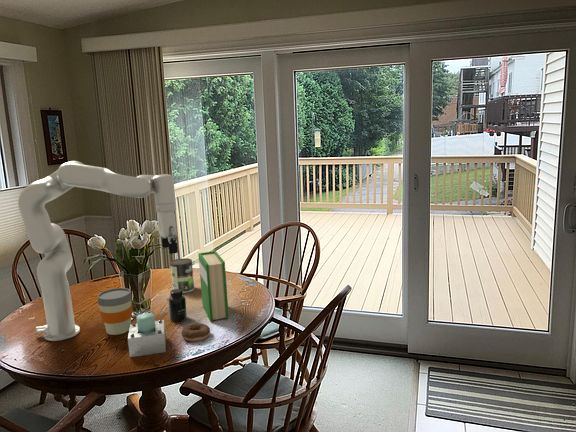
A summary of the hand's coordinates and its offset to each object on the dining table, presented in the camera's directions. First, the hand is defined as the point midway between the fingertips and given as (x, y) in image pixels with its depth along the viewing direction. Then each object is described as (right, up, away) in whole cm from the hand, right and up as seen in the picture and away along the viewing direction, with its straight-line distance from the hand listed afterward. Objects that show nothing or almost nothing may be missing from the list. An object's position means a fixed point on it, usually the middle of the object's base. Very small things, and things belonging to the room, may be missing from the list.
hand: (170, 250), depth 186 cm
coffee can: (-4, -22, +43) cm, 48 cm away
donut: (+12, -32, -7) cm, 35 cm away
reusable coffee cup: (-20, -31, +2) cm, 37 cm away
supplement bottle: (+1, -29, +10) cm, 30 cm away
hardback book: (+15, -27, +14) cm, 34 cm away
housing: (-4, -34, -14) cm, 37 cm away
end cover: (-4, -34, -14) cm, 37 cm away
